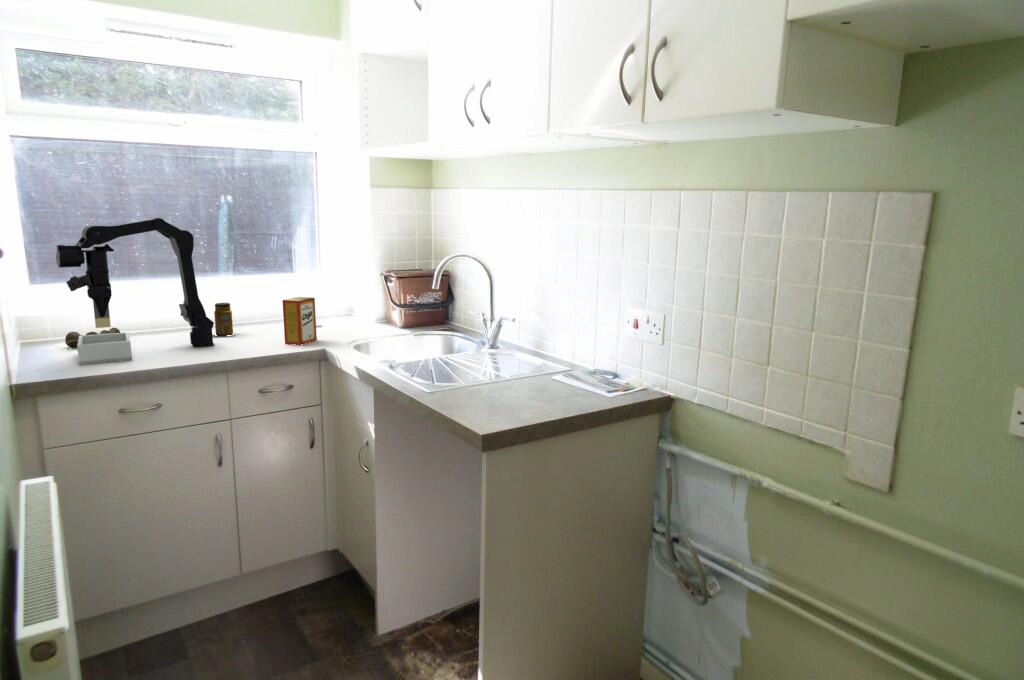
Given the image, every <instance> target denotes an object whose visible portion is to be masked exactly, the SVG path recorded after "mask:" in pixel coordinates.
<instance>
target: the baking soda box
mask: <svg viewBox="0 0 1024 680" xmlns="http://www.w3.org/2000/svg"><path fill="white" fill-rule="evenodd" d="M315 299H316V298H315V297H310V296H308V297H307V296H297V297H291V298H287V299H282V312H283V313H282V314H283V333H284V344H285V345H291V344H296V345H295V346H302V345H301V344H304V345H306V344H305V343H307V344H309V343H308V342H310V343H313V342H316V341H315V340H317V339H318V338H317V321H316V302H315V301H316V300H315ZM312 341H313V342H312Z"/></svg>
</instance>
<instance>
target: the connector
mask: <svg viewBox="0 0 1024 680" xmlns="http://www.w3.org/2000/svg"><path fill="white" fill-rule="evenodd" d="M92 303H93V305H92V306H93V314H94V323H95V324H94V326H95V329H102V328H104V329H106V328H112V327H111V318H110V317H111V316H110V307H109V304H110V303H109V304H108V307H107V310H106V313H105V316H104V317H100V315H99V312H98V309H97V306H96V303H95V301H94V300H93V299H92Z"/></svg>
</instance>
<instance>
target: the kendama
mask: <svg viewBox="0 0 1024 680" xmlns="http://www.w3.org/2000/svg"><path fill="white" fill-rule="evenodd" d="M111 333H121V330H119V328H117V327H110V328H109V330H106V329H103V330H101V331H100V332H99V333H98V332H96V331H89V332H87V333H86V334H80V333H79V332H77V331H70V332H68V333H67V334H66V335H65V338H64V339H65V340H64V341H65V342H64V343H65V344H66V346H67V347H68V348H71V347H72V348H77V344H78V339H79V336H84V335H97V334H111Z"/></svg>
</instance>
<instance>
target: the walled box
mask: <svg viewBox="0 0 1024 680" xmlns="http://www.w3.org/2000/svg"><path fill="white" fill-rule="evenodd" d="M83 335H84V336H79V339H78V344H77V347H76V349H77V354H78V363H79V366H83V365H84V364H86V365H94V364H96V363H97V364H105V363H107V364H108V363H115V362H116V363H117V362H127V361H133V353H132V345H131V344H132V343H131V338H130V337H131V336H130V333H129V332H127V331H125V332H120V333H111V334H99V333H98V334H97V335H86V334H83ZM84 366H85V365H84Z"/></svg>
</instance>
